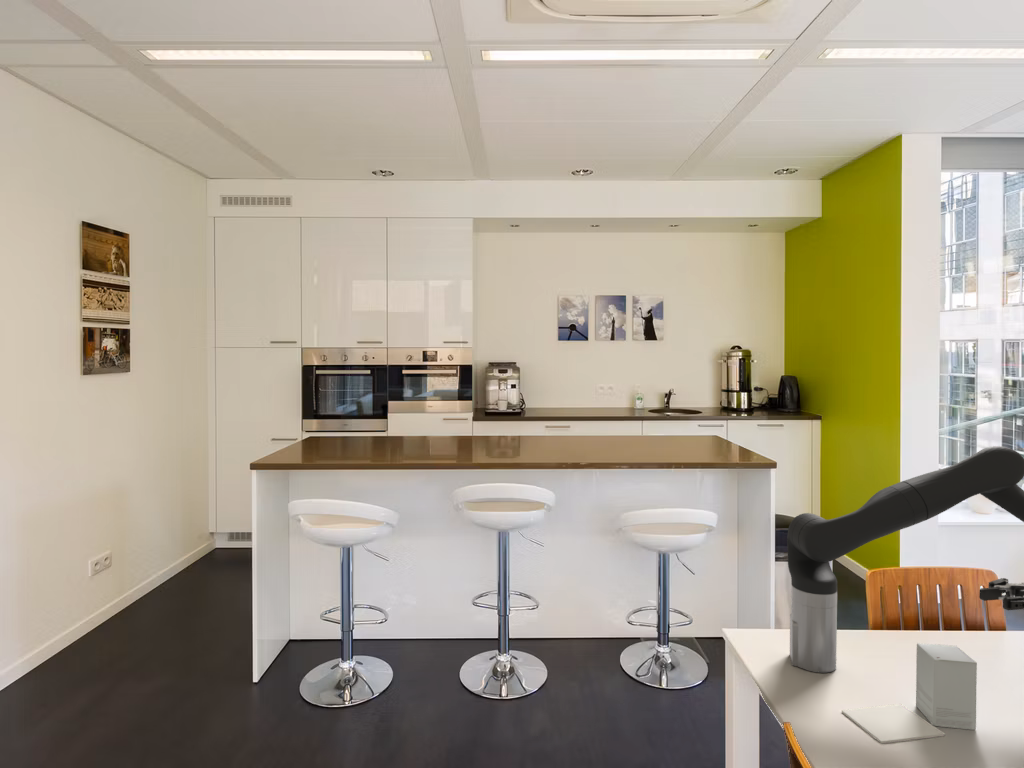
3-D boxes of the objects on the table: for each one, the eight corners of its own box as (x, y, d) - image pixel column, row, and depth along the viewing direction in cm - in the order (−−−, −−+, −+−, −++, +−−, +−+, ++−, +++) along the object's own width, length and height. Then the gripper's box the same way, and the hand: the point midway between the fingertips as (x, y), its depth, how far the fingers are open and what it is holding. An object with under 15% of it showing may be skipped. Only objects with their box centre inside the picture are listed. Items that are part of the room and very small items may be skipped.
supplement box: (977, 731, 112) (978, 663, 111) (932, 726, 113) (933, 659, 113) (956, 709, 119) (957, 645, 119) (914, 704, 121) (915, 641, 120)
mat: (881, 743, 108) (881, 741, 108) (841, 712, 118) (841, 710, 118) (944, 735, 110) (944, 733, 110) (900, 705, 120) (900, 703, 120)
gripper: (1030, 563, 127) (959, 567, 124) (1108, 587, 113) (1030, 593, 110) (1029, 598, 127) (959, 604, 124) (1107, 627, 113) (1029, 634, 110)
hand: (993, 599), depth 117 cm, fingers open, 4 cm apart
